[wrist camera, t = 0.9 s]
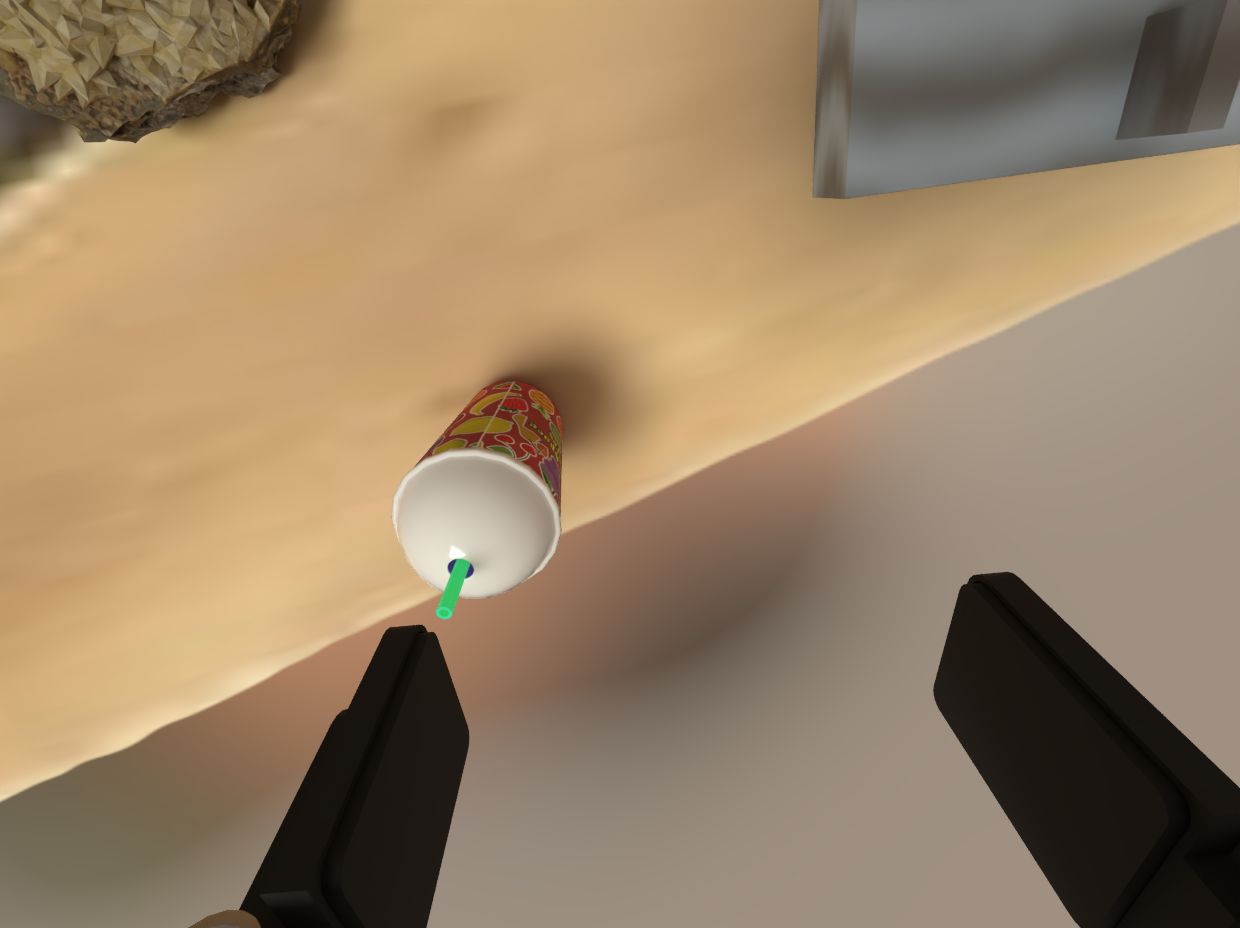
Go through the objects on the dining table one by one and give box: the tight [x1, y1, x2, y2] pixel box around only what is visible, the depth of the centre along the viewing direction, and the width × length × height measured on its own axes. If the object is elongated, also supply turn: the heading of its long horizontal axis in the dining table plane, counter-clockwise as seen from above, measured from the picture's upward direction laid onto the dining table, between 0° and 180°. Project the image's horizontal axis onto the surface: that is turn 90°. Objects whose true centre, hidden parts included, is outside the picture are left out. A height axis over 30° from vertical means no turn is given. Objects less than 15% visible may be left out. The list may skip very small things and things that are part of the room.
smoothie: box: [392, 381, 562, 619], centre depth 30 cm, size 8×8×20 cm
